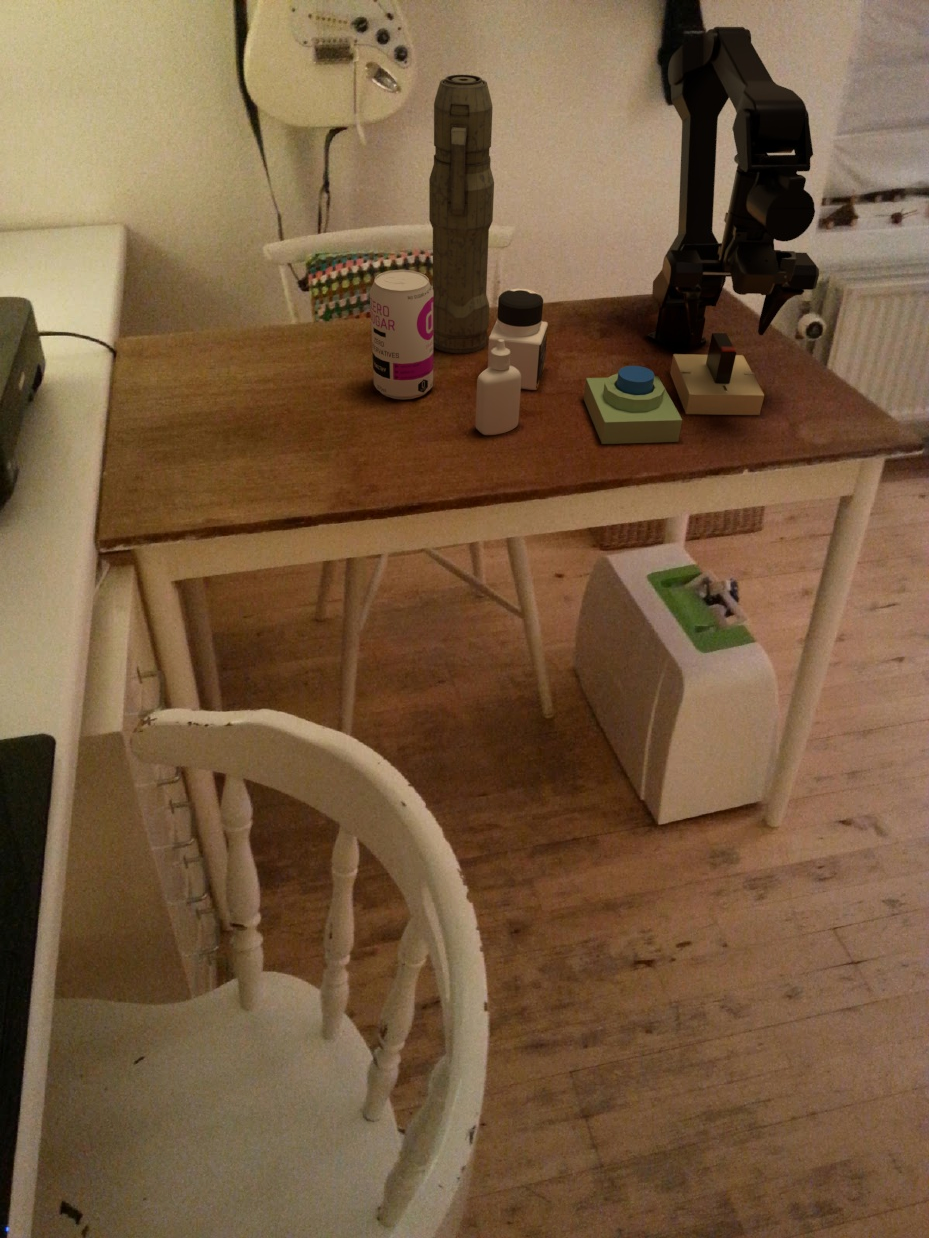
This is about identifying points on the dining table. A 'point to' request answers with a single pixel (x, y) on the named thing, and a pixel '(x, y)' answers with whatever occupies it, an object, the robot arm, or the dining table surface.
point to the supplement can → (402, 333)
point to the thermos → (461, 213)
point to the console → (715, 387)
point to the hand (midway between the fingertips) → (725, 333)
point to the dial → (721, 358)
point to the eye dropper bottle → (498, 394)
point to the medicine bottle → (522, 334)
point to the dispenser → (631, 413)
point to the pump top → (635, 380)
